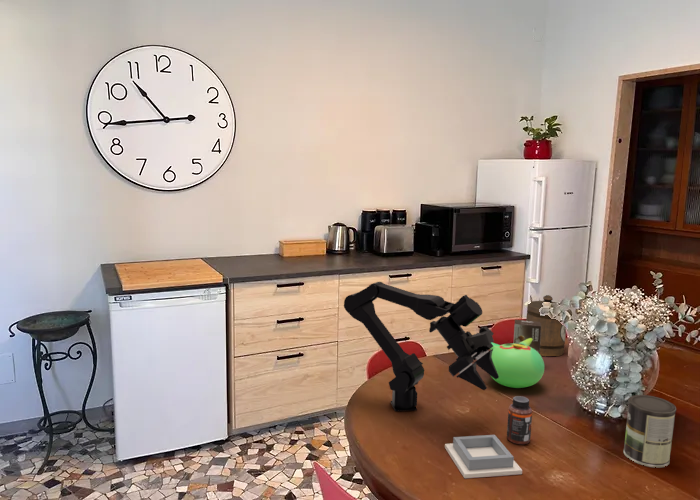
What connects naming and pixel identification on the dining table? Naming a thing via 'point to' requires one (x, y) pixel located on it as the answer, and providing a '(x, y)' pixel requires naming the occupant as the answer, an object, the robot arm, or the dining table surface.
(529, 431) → the supplement bottle
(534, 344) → the coffee box
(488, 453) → the cup holder
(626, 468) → the dining table surface
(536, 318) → the wooden container
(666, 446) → the coffee can
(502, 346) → the toy bird
